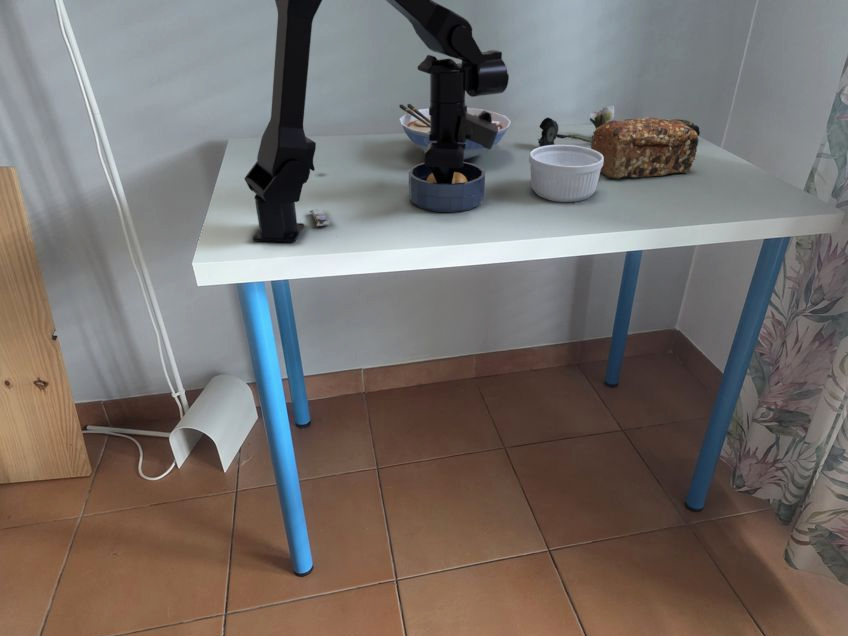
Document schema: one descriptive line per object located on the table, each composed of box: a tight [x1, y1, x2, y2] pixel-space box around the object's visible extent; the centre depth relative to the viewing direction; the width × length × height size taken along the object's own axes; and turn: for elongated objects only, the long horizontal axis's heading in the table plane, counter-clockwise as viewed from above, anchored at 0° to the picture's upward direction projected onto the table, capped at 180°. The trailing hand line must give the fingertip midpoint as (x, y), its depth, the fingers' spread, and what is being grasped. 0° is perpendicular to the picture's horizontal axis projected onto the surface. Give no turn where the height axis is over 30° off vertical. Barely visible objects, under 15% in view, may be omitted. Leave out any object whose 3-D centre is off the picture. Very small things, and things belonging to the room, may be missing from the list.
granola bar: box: [309, 208, 331, 227], centre depth 109 cm, size 7×2×1 cm, turn 21°
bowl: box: [408, 161, 486, 213], centre depth 118 cm, size 13×13×5 cm
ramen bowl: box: [399, 103, 512, 161], centre depth 139 cm, size 25×23×8 cm
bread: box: [590, 117, 699, 180], centre depth 134 cm, size 19×11×10 cm, turn 108°
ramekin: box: [528, 144, 604, 203], centre depth 122 cm, size 13×13×7 cm
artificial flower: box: [534, 104, 615, 147], centre depth 150 cm, size 9×22×10 cm, turn 116°
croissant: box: [426, 172, 467, 184], centre depth 118 cm, size 5×9×4 cm, turn 88°
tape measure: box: [672, 118, 701, 137], centre depth 156 cm, size 7×7×4 cm
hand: (446, 191), depth 119 cm, fingers closed on croissant, 4 cm apart
